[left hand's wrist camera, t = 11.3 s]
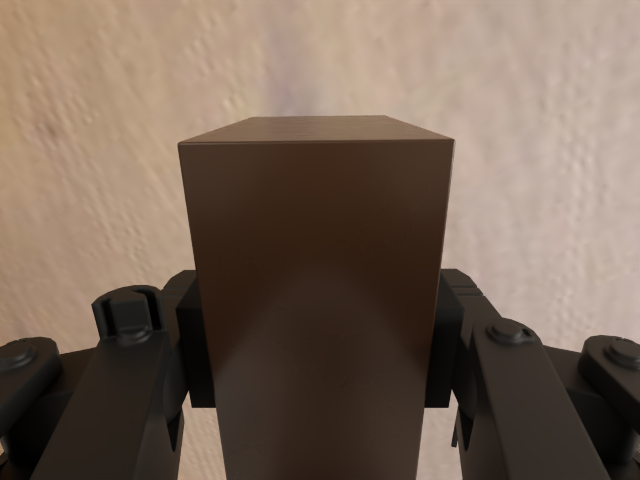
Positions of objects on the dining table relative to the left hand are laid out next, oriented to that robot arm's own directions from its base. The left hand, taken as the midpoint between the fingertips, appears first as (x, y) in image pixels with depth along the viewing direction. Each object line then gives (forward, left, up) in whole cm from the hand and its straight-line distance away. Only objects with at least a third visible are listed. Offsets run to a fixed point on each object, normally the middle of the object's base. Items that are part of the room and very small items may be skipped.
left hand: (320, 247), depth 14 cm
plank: (+10, 0, 0) cm, 10 cm away
